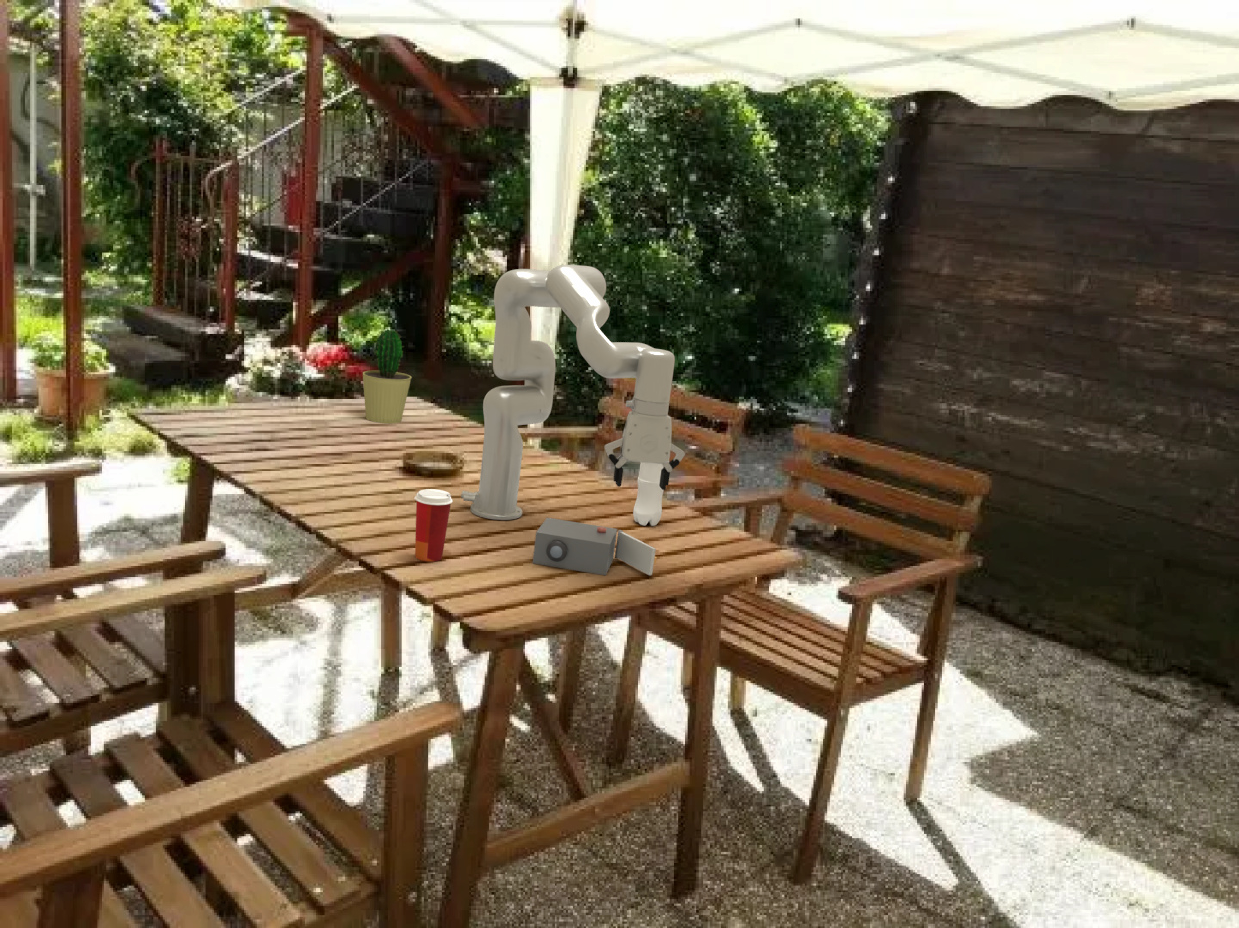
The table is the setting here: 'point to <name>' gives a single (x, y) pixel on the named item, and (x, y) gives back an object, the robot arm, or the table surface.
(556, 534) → the camera body
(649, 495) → the water bottle
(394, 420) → the potted cactus
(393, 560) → the table surface
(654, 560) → the side door
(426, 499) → the paper cup
